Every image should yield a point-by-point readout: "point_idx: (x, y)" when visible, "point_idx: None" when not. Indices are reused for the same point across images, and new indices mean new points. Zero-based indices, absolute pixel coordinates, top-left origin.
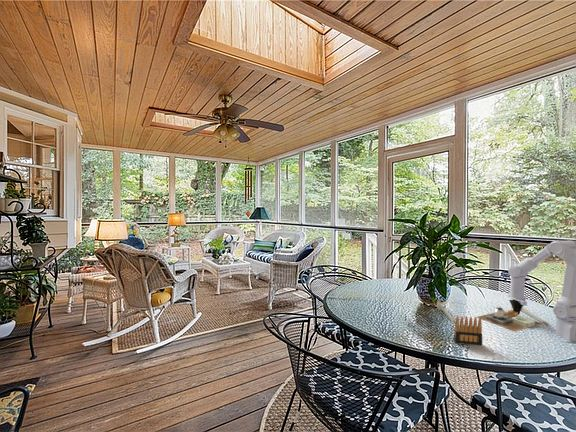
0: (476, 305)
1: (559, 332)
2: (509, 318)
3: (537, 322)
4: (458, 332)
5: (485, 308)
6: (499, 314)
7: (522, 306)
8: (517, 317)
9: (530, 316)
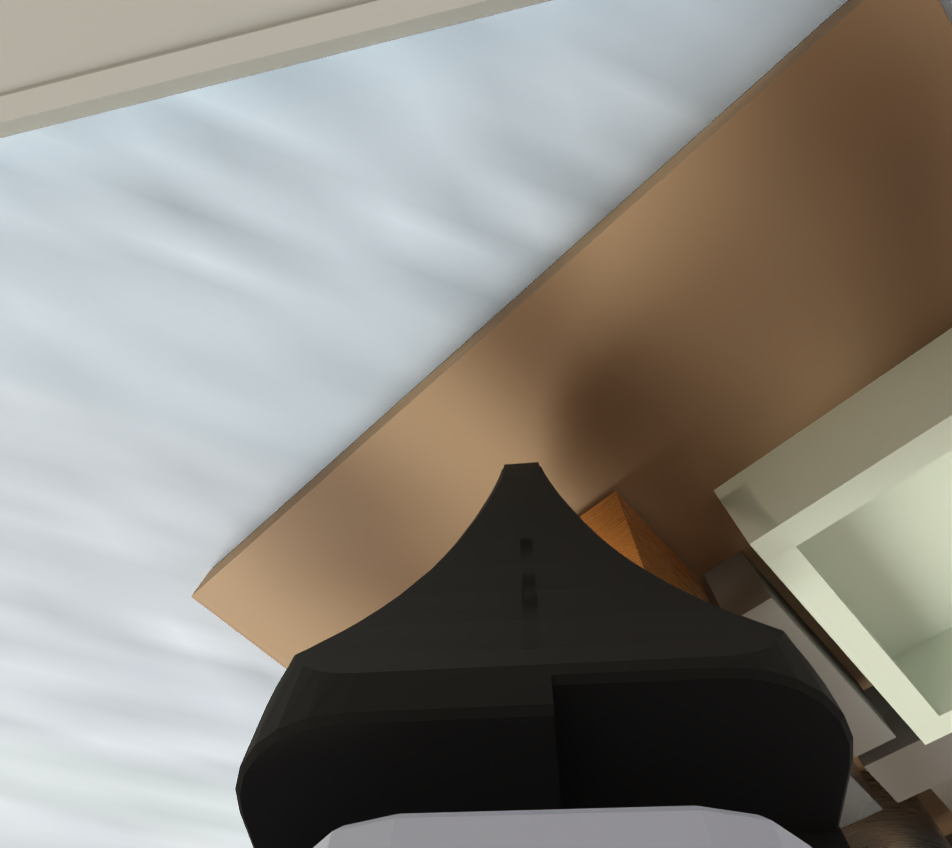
0: (41, 834)
1: None
2: (883, 739)
3: (833, 101)
4: None
5: (130, 764)
6: None
7: (681, 599)
8: (842, 603)
9: (268, 63)
